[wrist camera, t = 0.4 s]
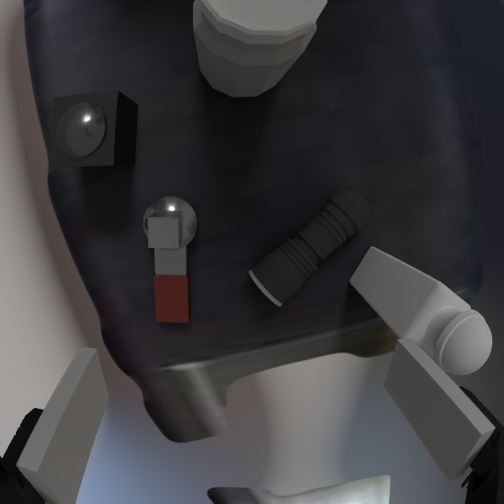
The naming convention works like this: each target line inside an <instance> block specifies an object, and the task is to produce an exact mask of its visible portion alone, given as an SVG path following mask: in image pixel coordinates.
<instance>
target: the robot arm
mask: <svg viewBox="0 0 504 504" xmlns="http://www.w3.org/2000/svg"><path fill="white" fill-rule="evenodd" d="M384 387H385V388H386V390H387V391H388V393H389V394H390V395H391V397H392V398H393V400H394V401H395V403H396V404H397V405H398V407H399V409H400V410H401V411H402V413H403V414H404V416H405V417H406V419H407V420H408V422H409V423H410V424H411V426H412V428H413V429H414V431H415V432H416V434H417V435H418V436H419V438H420V440H421V441H422V442H423V444H424V445H425V447H426V448H427V450H428V452H429V453H430V455H431V456H432V458H433V459H434V461H435V462H436V464H437V465H438V467H439V468H440V470H441V471H442V473H443V474H444V476H445V477H446V479H447V481H449V482H450V481H452V480H454V479H456V478H458V477H460V476H462V475H463V474H464V473H465V471H466V470H467V469H468V467H469V466H470V467H471V468H472V469H473V471H472V472H471V473H470V475H469V476H468V477H467V478H466V479H465V481H464V482H463V483H462V485H461V487H462V488H463V487H464V486H465V484H466V483H467V482H468V481H469V483H468V486H467V487H466V488H468V489H467V495H466V500H465V504H504V426H503V425H502V424H501V423H500V422H499V421H498V420H497V419H496V418H495V417H494V416H493V415H492V413H491V412H490V411H489V410H488V409H487V408H486V407H485V406H483V404H482V403H481V402H480V401H478V399H477V398H476V397H475V395H473V393H472V392H471V391H469V390H467V389H465V388H464V387H462V386H461V387H458V386H457V385H456V384H455V383H454V382H453V381H452V380H451V379H450V378H449V377H448V376H447V374H446V373H445V372H444V371H443V370H442V369H441V368H440V367H439V366H438V365H437V364H436V363H435V362H434V361H433V360H432V359H431V358H430V357H429V356H428V355H427V354H426V353H425V352H424V351H423V350H422V349H421V348H420V347H419V346H418V345H417V344H416V343H415V342H414V341H413V340H412V339H411V338H406V339H399V340H397V344H396V347H395V351H394V355H393V358H392V361H391V365H390V368H389V371H388V375H387V378H386V381H385V384H384ZM108 399H109V394H108V391H107V387H106V383H105V380H104V376H103V372H102V368H101V364H100V360H99V356H98V352H97V349H96V348H88V347H80V349H79V350H78V352H77V354H76V356H75V357H74V359H73V360H72V362H71V364H70V365H69V367H68V369H67V370H66V372H65V374H64V375H63V377H62V379H61V380H60V382H59V384H58V386H57V387H56V389H55V391H54V393H53V395H52V396H51V398H50V400H49V402H48V404H47V405H46V407H45V409H44V410H42V409H37V408H34V409H33V410H32V411H30V412H29V413H28V414H27V415H26V416H25V417H24V419H23V421H22V423H21V424H20V427H19V428H18V430H17V431H16V435H14V437H13V439H12V441H11V443H10V444H9V446H8V448H7V450H6V452H5V454H4V456H3V458H1V456H0V504H45V503H47V504H75V503H76V499H77V495H78V492H79V488H80V485H81V481H82V478H83V475H84V471H85V468H86V465H87V462H88V458H89V455H90V452H91V449H92V446H93V443H94V440H95V437H96V434H97V430H98V428H99V425H100V422H101V419H102V416H103V414H104V411H105V408H106V405H107V402H108Z"/></svg>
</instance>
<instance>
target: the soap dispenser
mask: <svg viewBox="0 0 504 504" xmlns="http://www.w3.org/2000/svg"><path fill="white" fill-rule="evenodd" d="M349 282H350V284H351V285H352V286H353V287H354V288H355V289H356V290H357V291H358V292H359V293H360V295H361V296H362V297H363V298H364V299H365V300H366V301H367V302H368V303H369V305H370V306H371V307H372V308H373V309H374V310H375V311H376V312H377V314H378V315H379V316H380V317H381V318H382V319H383V320H384V321H385V323H386V324H387V325H388V326H389V327H390V328H391V329H392V331H393V332H394V333H395V334H396V335H397V336H398V338H399V339H406V338H411V339H412V340H413V341H414V342H415V343H416V344H417V345H418V346H419V347H420V348H421V349H422V350H423V351H424V352H425V353H426V354H428V355H429V356H431V357H433V358H434V360H435V363H436V364H437V365H438V366H439V367H440V368H441V369H442V370H444V371H446V372H450V373H453V374H456V375H466V374H470V373H473V372H475V371H476V370H478V369H479V368H480V367H481V366H482V365H483V364H484V363H485V362H486V360H487V358H488V356H489V354H490V351H491V347H492V335H491V331H490V329H489V327H488V325H487V324H486V322H485V319H484V318H483V317H482V316H481V315H480V314H479V313H478V312H477V311H474V310H471V307H470V306H469V305H468V304H467V303H466V302H465V301H463V300H462V299H461V298H460V297H458V296H457V295H456V294H455V293H453V292H452V291H451V290H450V289H449V288H447V287H446V286H445V285H444V284H443V283H441V282H440V281H438V280H436V279H434V278H432V277H430V276H428V275H427V274H425V273H423V272H421V271H419V270H417V269H415V268H414V267H412V266H410V265H408V264H406V263H404V262H402V261H400V260H398V259H396V258H394V257H392V256H391V255H389V254H387V253H385V252H383V251H381V250H379V249H377V248H375V247H373V246H372V247H370V248H369V250H368V251H367V253H366V255H365V256H364V258H363V260H362V261H361V263H360V264H359V266H358V268H357V269H356V271H355V272H354V274H353V275H352V277H351V279H350V280H349Z"/></svg>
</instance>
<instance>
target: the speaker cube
mask: <svg viewBox="0 0 504 504" xmlns="http://www.w3.org/2000/svg"><path fill="white" fill-rule="evenodd" d="M137 115H138V104H136V103H135V102H134V101H132V100H131V99H129V98H128V97H127V96H125V95H124V94H122V93H121V92H120V91H108V92H98V93H89V94H81V95H73V96H67V97H60V98H54V99H53V109H52V120H51V135H50V164H49V169H56V168H70V167H87V166H108V165H130V164H135V150H136V130H137Z"/></svg>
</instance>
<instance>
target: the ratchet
mask: <svg viewBox="0 0 504 504" xmlns="http://www.w3.org/2000/svg"><path fill="white" fill-rule="evenodd" d="M197 225H198V216H197V212H196V210H195V208H194V206H193V205H192V204H191V202H189V201H188V200H187V199H186V198H184V197H181V196H178V195H166V196H163V197H161V198H159V199H157V200H156V201H154V202H153V203H152V204H151V205H150V206H149V207H148V209H147V210H146V212H145V215H144V220H143V227H144V231H145V234H146V236H147V238H148V248H154V249H155V273H154V275H153V277H154V295H155V310H156V322H172V323H189V318H190V300H189V271H187V244H189V242H190V241H191V240H192V239H193V237H194V235H195V233H196V229H197Z"/></svg>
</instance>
